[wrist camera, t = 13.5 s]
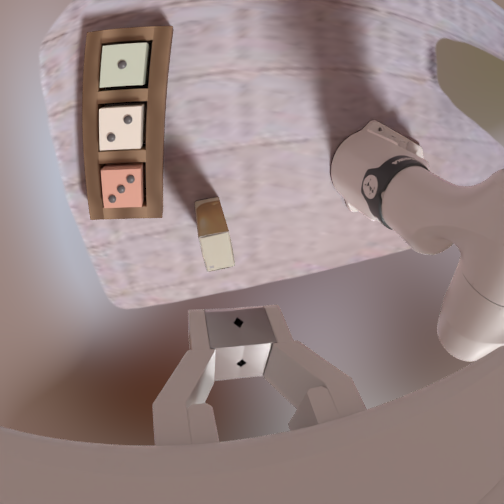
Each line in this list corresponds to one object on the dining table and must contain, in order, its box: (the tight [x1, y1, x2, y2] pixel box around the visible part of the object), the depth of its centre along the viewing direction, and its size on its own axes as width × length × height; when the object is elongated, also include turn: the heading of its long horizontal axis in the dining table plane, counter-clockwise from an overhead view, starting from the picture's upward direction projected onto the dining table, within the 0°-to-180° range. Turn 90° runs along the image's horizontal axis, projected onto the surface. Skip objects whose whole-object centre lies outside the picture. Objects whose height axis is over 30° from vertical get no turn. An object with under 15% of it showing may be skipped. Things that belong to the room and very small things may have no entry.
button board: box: [82, 26, 173, 220], centre depth 37 cm, size 12×29×4 cm, turn 172°
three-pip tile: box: [101, 162, 145, 208], centre depth 41 cm, size 6×6×5 cm
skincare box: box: [195, 197, 235, 272], centre depth 46 cm, size 6×4×12 cm
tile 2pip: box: [99, 103, 146, 151], centre depth 36 cm, size 6×6×5 cm
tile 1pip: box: [100, 43, 151, 88], centre depth 31 cm, size 6×6×5 cm
